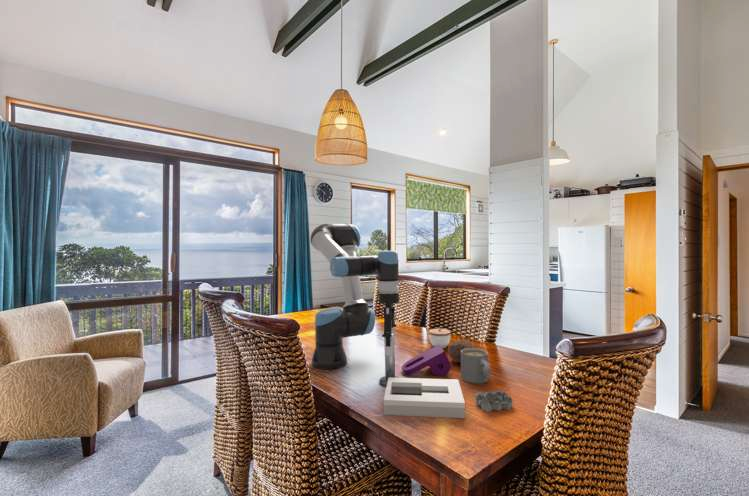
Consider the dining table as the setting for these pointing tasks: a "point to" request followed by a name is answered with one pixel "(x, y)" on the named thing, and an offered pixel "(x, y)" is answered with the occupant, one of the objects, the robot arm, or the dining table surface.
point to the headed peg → (389, 366)
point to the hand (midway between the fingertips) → (390, 349)
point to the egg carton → (493, 400)
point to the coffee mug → (474, 365)
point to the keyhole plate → (424, 398)
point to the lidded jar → (439, 337)
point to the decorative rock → (458, 349)
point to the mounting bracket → (429, 362)
